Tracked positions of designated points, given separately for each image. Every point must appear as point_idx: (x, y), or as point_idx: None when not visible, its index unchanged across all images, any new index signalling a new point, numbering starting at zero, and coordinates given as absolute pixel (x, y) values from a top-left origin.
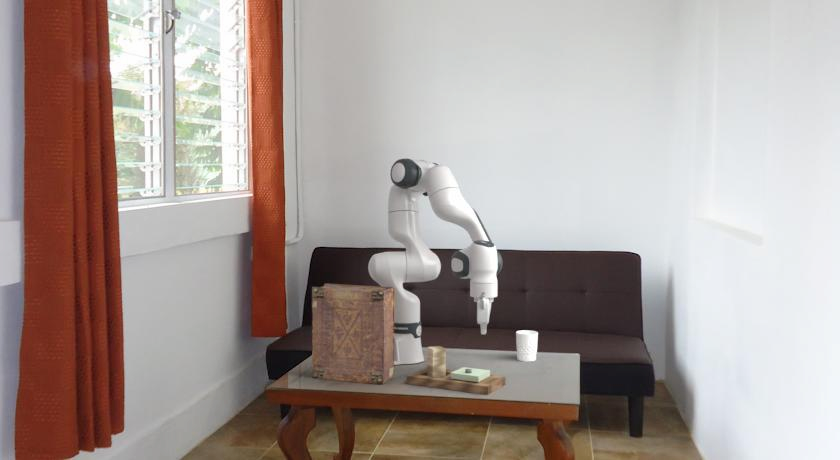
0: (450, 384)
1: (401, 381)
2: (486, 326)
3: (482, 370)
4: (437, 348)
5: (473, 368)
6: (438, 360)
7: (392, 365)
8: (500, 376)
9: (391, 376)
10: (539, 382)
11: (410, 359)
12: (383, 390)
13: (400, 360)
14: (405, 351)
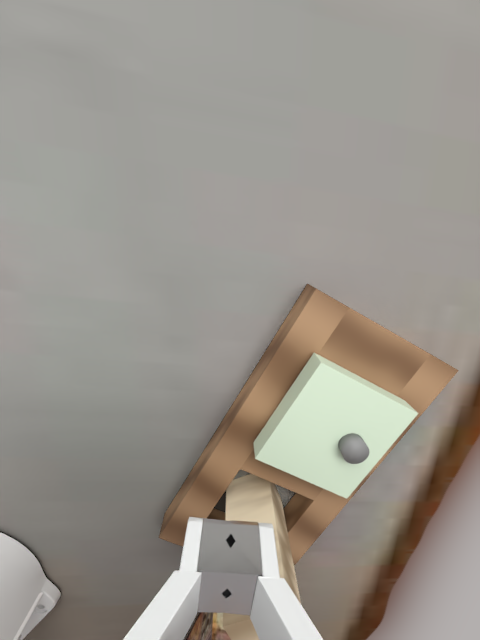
0: None
1: None
2: (308, 618)
3: (320, 392)
4: None
5: (281, 423)
6: (289, 567)
7: (223, 637)
8: (307, 309)
9: None
10: (278, 124)
11: (21, 572)
12: (341, 595)
13: (38, 592)
14: (4, 618)
